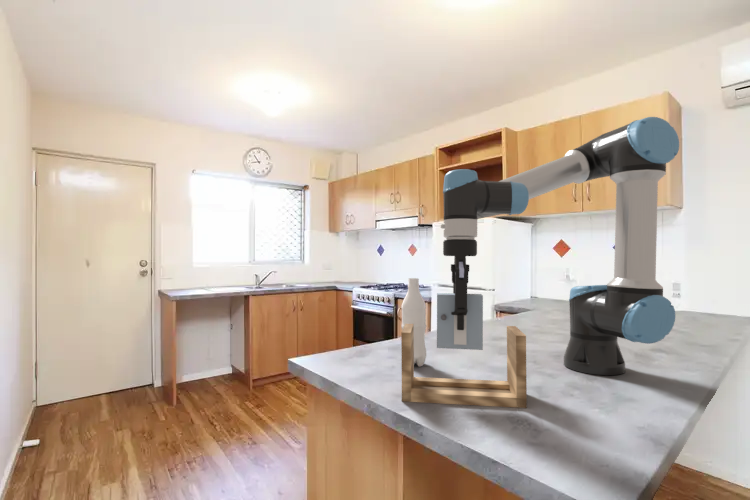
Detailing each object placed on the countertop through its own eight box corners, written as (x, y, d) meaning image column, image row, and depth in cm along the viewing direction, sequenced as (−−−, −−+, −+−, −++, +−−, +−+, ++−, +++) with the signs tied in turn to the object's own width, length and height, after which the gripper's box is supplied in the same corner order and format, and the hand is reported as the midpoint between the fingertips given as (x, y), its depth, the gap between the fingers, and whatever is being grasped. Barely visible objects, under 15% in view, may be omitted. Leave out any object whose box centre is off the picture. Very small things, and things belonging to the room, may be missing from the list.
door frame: (516, 390, 93) (515, 326, 93) (526, 408, 82) (526, 335, 82) (405, 384, 97) (405, 323, 97) (401, 401, 86) (401, 332, 86)
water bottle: (425, 368, 110) (424, 279, 110) (400, 367, 112) (399, 279, 112) (427, 361, 117) (426, 277, 117) (403, 360, 119) (402, 277, 119)
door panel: (480, 346, 90) (481, 294, 90) (483, 351, 86) (483, 296, 86) (436, 344, 92) (437, 293, 92) (436, 349, 87) (437, 294, 88)
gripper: (442, 240, 98) (442, 334, 98) (443, 237, 82) (443, 350, 82) (473, 240, 97) (473, 335, 97) (481, 237, 81) (480, 351, 81)
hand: (459, 341), depth 89 cm, fingers closed on door panel, 3 cm apart
